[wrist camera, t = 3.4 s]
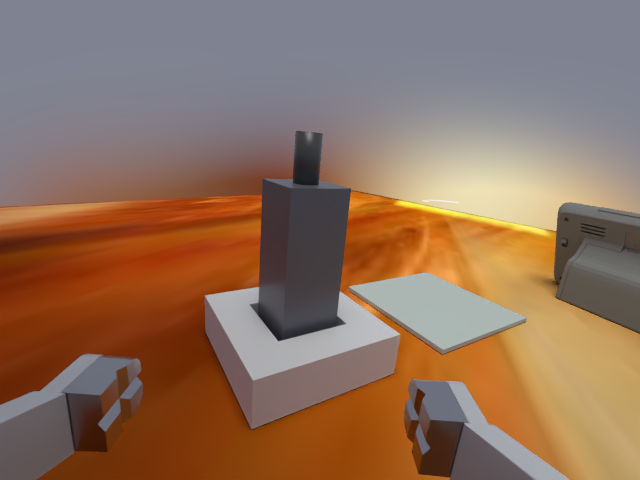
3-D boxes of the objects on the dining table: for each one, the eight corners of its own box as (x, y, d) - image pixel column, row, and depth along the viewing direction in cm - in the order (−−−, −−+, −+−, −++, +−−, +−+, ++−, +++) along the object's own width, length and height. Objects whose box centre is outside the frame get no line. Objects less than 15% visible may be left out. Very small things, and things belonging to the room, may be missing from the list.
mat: (442, 354, 25) (443, 349, 25) (348, 290, 34) (348, 286, 34) (525, 321, 31) (526, 318, 31) (426, 275, 41) (426, 272, 41)
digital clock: (754, 355, 29) (815, 239, 26) (681, 363, 27) (738, 237, 24) (577, 280, 44) (603, 201, 41) (521, 281, 42) (544, 198, 39)
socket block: (251, 429, 17) (253, 380, 16) (205, 331, 25) (204, 295, 24) (393, 373, 22) (400, 334, 21) (317, 307, 30) (320, 277, 29)
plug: (280, 376, 21) (294, 129, 17) (257, 343, 24) (264, 128, 20) (332, 360, 23) (356, 136, 19) (304, 331, 26) (320, 134, 22)
